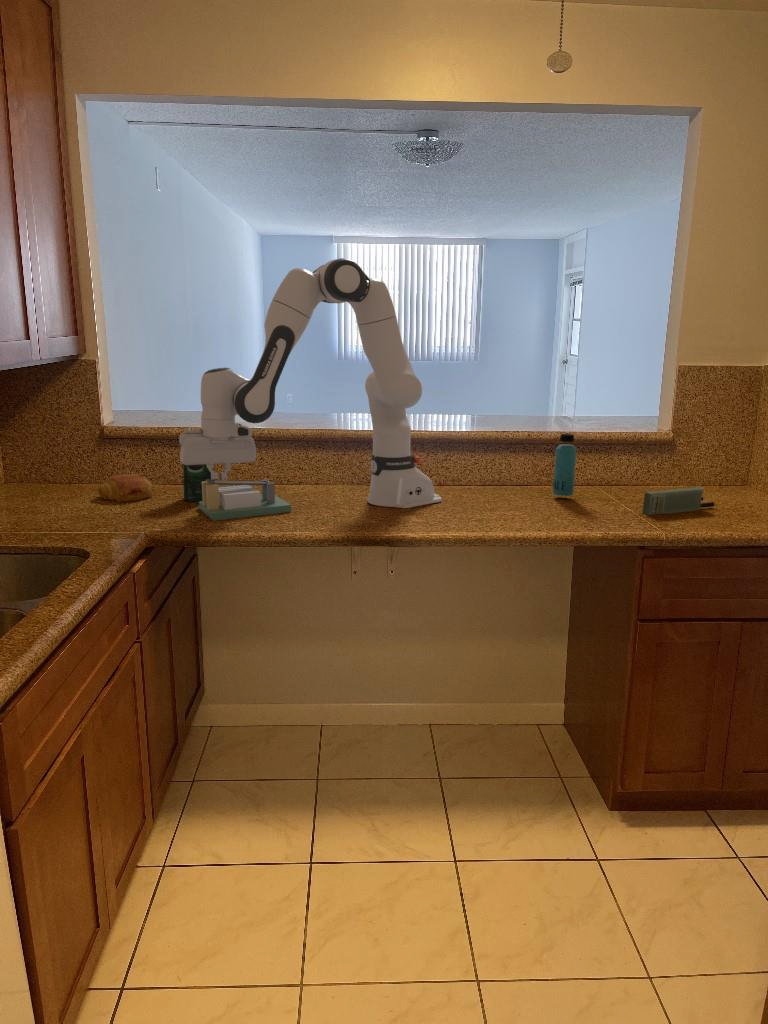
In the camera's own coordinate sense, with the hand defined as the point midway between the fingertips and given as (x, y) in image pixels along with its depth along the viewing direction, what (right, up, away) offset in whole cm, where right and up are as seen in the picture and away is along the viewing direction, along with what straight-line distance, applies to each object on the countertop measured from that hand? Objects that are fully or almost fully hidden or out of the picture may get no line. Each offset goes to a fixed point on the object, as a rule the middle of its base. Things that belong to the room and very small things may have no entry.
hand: (219, 479), depth 190 cm
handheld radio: (+131, -9, +10) cm, 131 cm away
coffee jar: (-10, -5, +18) cm, 21 cm away
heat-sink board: (+6, -8, +5) cm, 12 cm away
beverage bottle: (+100, -5, +24) cm, 103 cm away
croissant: (-32, -5, +20) cm, 38 cm away
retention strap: (+5, -2, +3) cm, 6 cm away
